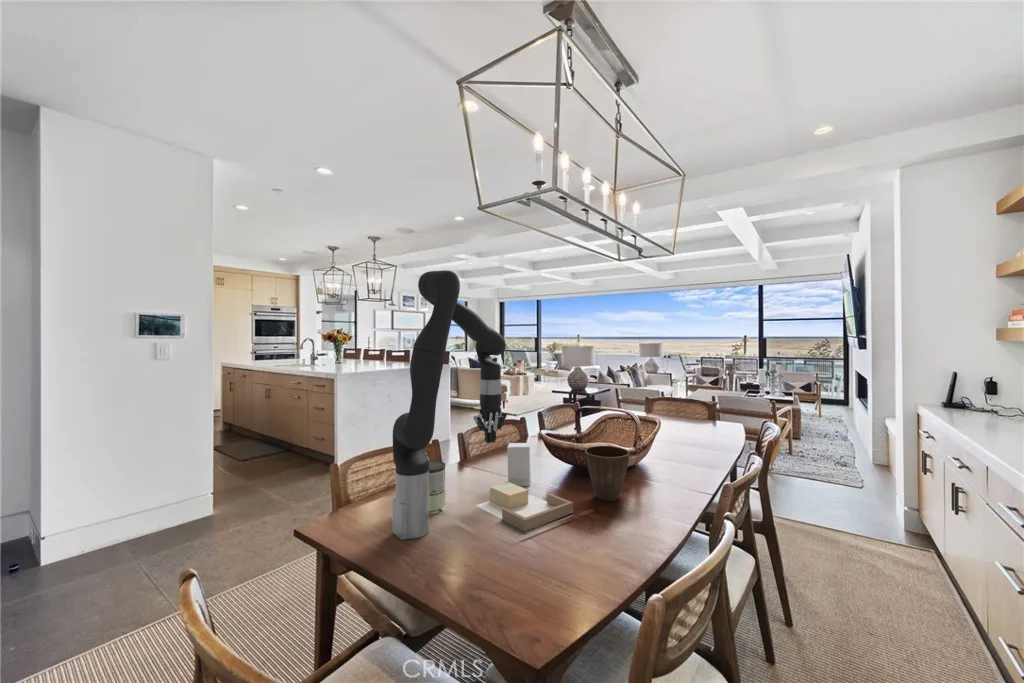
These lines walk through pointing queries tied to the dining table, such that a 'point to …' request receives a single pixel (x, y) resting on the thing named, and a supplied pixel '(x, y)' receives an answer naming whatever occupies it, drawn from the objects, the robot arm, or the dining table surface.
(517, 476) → the skincare box
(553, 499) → the tan flat tray
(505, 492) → the carton
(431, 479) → the coffee can
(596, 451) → the plant pot
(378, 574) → the dining table surface
